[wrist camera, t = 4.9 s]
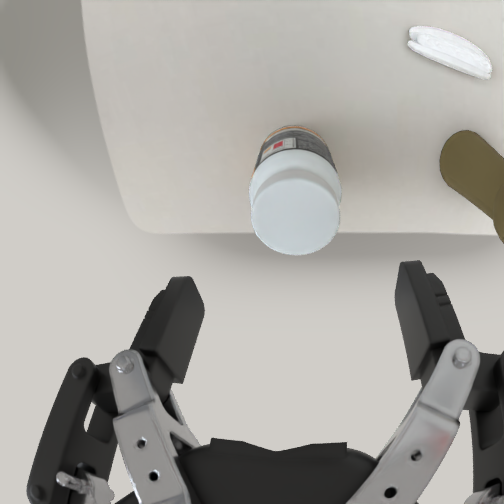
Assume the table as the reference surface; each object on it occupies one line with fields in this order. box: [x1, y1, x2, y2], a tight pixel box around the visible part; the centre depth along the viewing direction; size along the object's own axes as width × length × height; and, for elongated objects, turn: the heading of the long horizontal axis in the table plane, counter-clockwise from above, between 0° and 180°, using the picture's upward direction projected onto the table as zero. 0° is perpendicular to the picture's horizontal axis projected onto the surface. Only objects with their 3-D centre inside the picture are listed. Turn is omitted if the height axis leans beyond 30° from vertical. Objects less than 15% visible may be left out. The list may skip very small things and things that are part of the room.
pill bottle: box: [249, 126, 342, 255], centre depth 18 cm, size 6×6×10 cm
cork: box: [440, 130, 504, 243], centre depth 15 cm, size 6×6×11 cm
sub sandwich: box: [408, 26, 493, 80], centre depth 13 cm, size 3×8×3 cm, turn 89°
